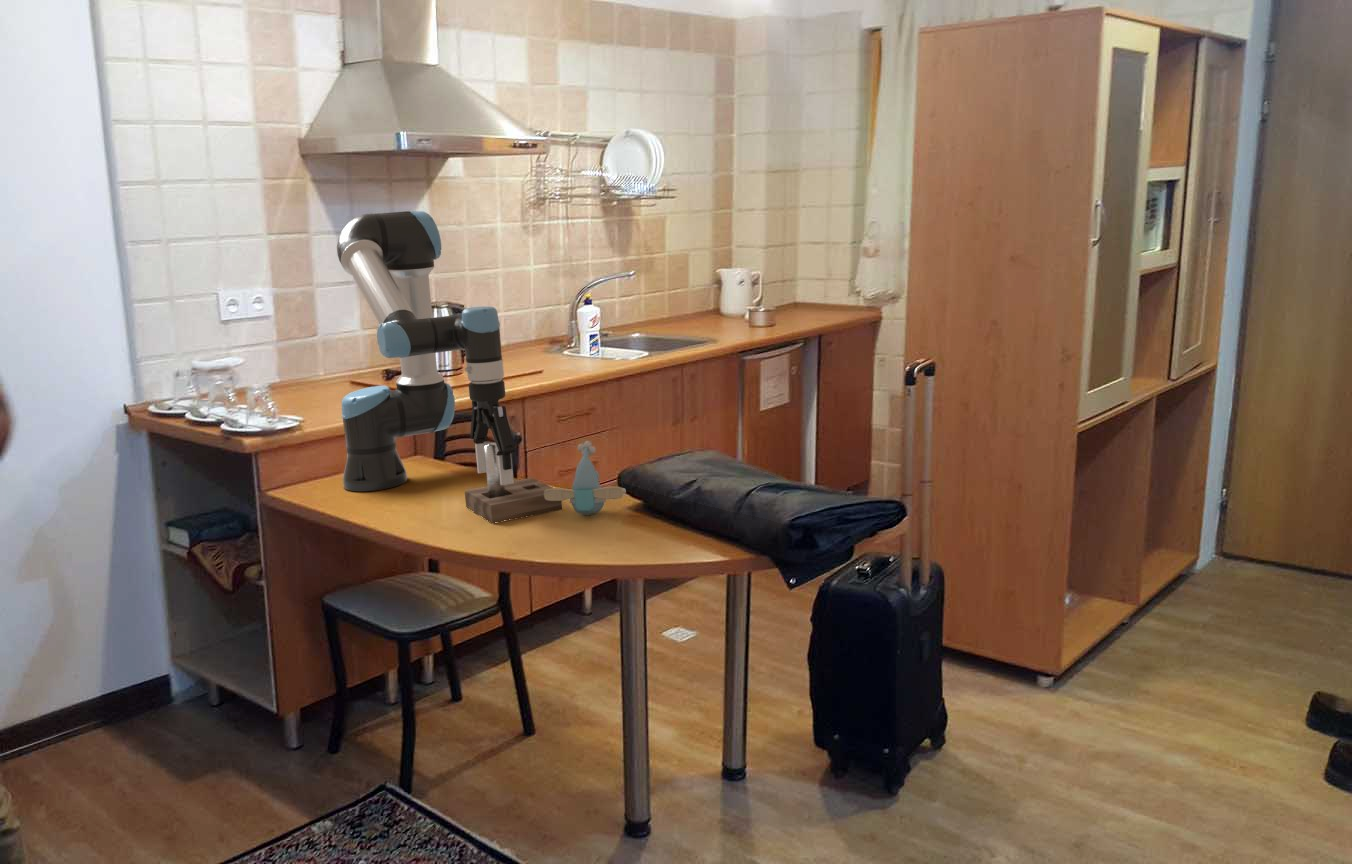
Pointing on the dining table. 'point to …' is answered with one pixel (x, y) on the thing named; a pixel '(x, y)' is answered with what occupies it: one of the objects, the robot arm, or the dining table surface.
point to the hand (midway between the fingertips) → (495, 478)
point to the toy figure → (585, 486)
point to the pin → (493, 471)
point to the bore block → (512, 501)
